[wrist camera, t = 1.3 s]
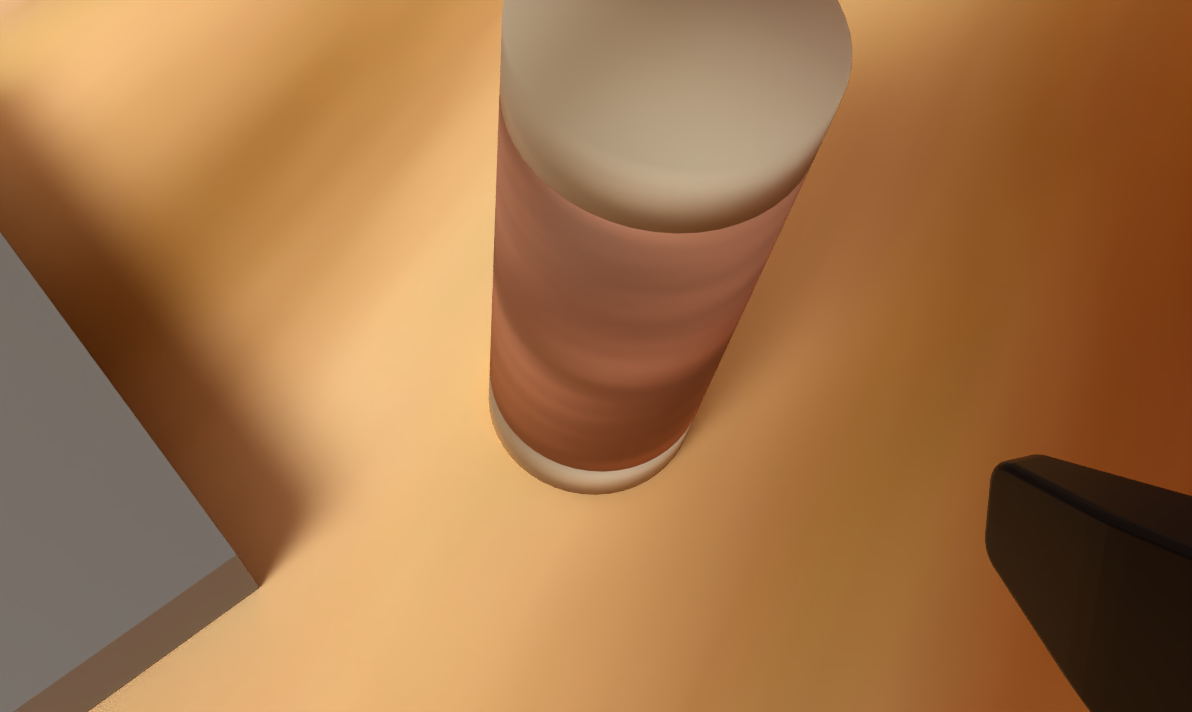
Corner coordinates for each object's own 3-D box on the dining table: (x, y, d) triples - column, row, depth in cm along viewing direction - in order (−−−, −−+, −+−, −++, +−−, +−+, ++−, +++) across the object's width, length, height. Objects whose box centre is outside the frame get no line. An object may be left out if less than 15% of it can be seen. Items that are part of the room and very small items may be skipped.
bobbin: (722, 365, 27) (898, -11, 16) (636, 531, 24) (773, 229, 13) (549, 279, 27) (601, -141, 16) (450, 433, 25) (433, 67, 14)
